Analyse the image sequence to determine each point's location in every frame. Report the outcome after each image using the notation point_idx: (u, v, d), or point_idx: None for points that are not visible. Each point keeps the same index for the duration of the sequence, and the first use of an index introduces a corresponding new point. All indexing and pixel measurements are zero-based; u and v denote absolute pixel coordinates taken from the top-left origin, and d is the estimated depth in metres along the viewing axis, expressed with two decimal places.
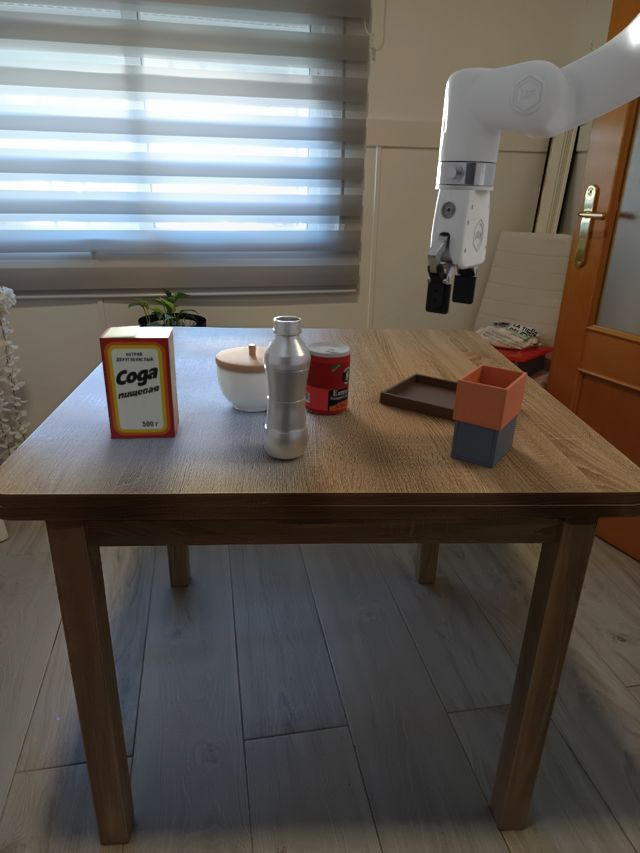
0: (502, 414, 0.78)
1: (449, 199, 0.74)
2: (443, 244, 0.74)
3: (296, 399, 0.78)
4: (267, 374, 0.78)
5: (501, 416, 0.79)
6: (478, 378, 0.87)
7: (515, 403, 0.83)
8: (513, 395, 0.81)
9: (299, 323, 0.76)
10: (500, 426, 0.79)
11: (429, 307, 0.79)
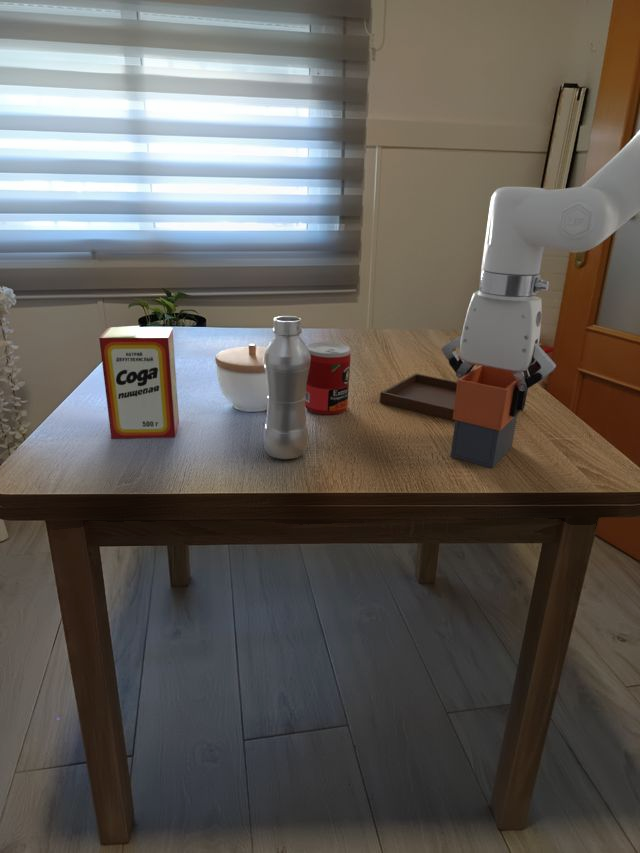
0: (502, 414, 0.78)
1: (538, 308, 0.76)
2: (544, 354, 0.78)
3: (296, 399, 0.78)
4: (267, 374, 0.78)
5: (501, 416, 0.79)
6: (478, 378, 0.87)
7: None
8: None
9: (299, 323, 0.76)
10: (500, 426, 0.79)
11: (515, 412, 0.81)
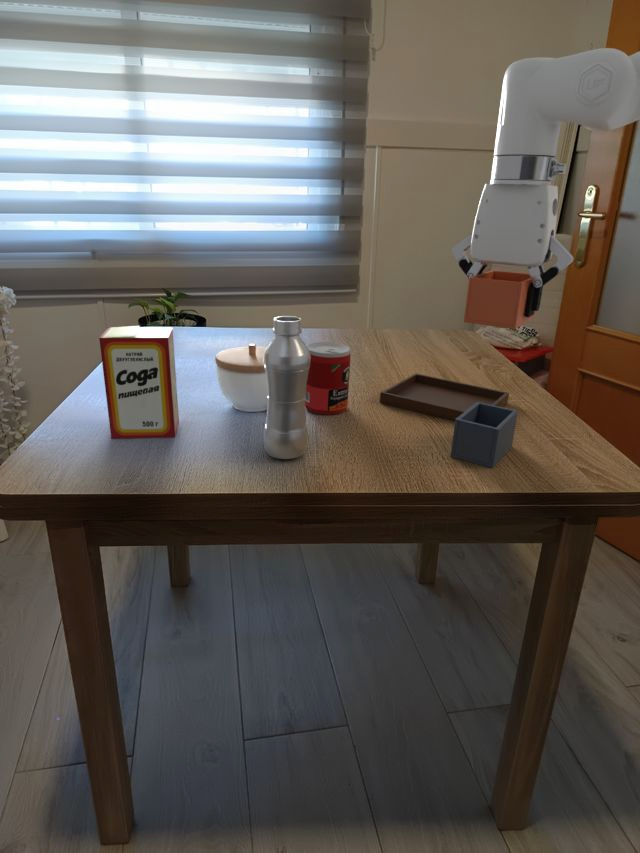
0: (517, 310, 0.74)
1: (555, 195, 0.72)
2: (560, 246, 0.74)
3: (296, 399, 0.78)
4: (267, 374, 0.78)
5: (516, 313, 0.74)
6: None
7: None
8: None
9: (299, 323, 0.76)
10: (515, 324, 0.75)
11: (530, 312, 0.77)
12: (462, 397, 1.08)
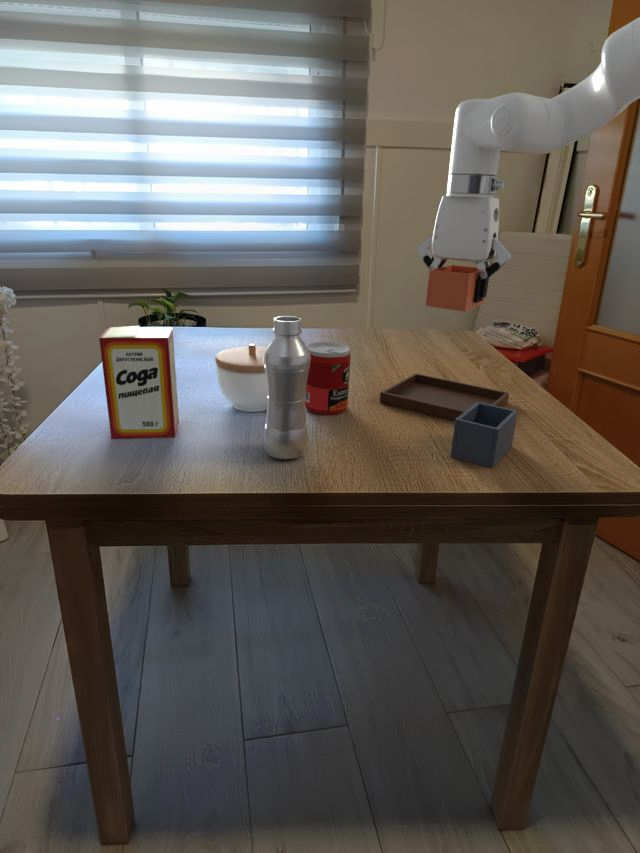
0: (466, 296, 0.93)
1: (496, 206, 0.91)
2: (501, 246, 0.93)
3: (296, 399, 0.78)
4: (267, 374, 0.78)
5: (465, 298, 0.94)
6: None
7: None
8: None
9: (299, 323, 0.76)
10: (464, 307, 0.94)
11: (478, 298, 0.96)
12: (462, 397, 1.08)
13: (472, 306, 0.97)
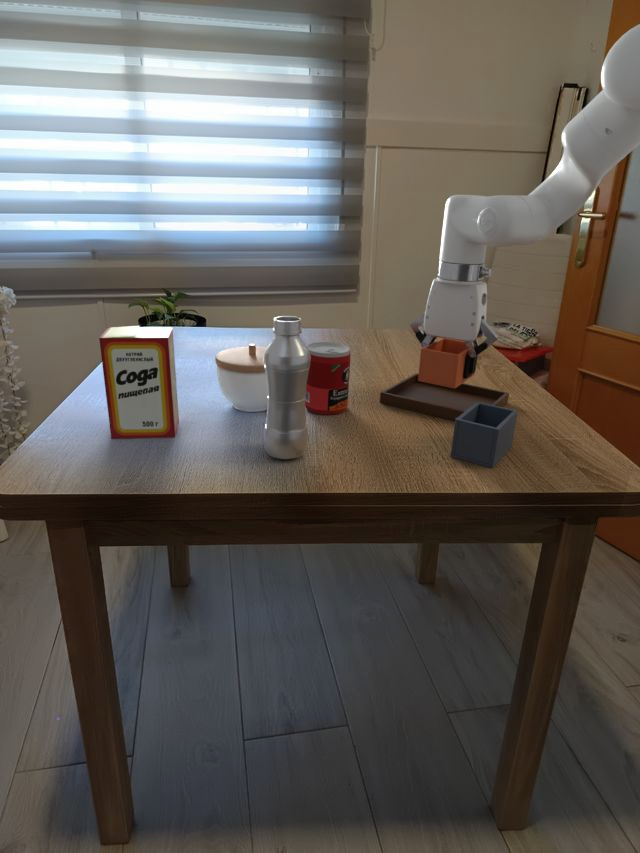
0: (455, 375, 0.99)
1: (484, 291, 0.96)
2: (489, 327, 0.99)
3: (296, 399, 0.78)
4: (267, 374, 0.78)
5: (455, 377, 0.99)
6: (440, 349, 1.08)
7: None
8: None
9: (299, 323, 0.76)
10: (454, 385, 0.99)
11: (467, 375, 1.02)
12: (462, 397, 1.08)
13: (462, 382, 1.02)
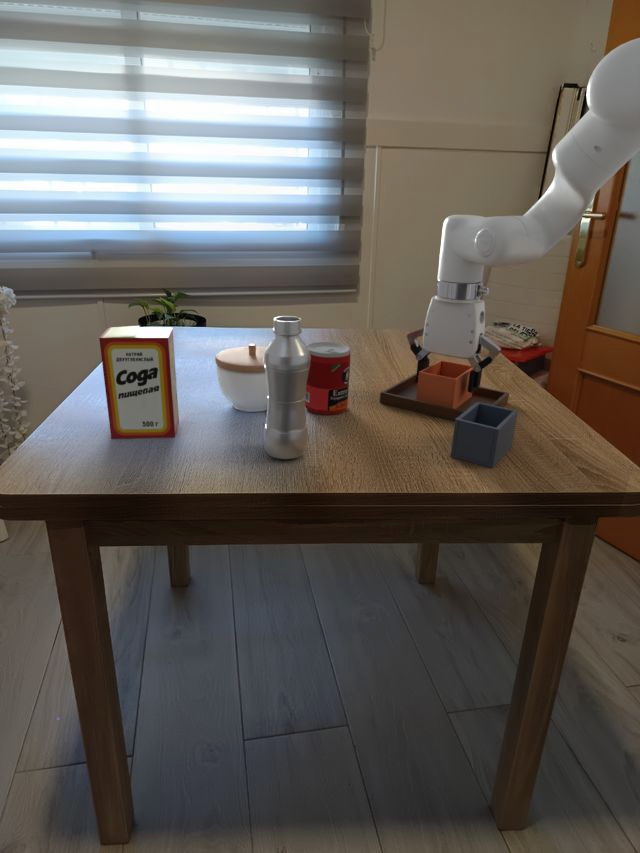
0: (453, 398, 1.00)
1: (481, 309, 0.98)
2: (489, 341, 0.99)
3: (296, 399, 0.78)
4: (267, 374, 0.78)
5: (452, 400, 1.00)
6: (438, 371, 1.09)
7: (465, 390, 1.05)
8: (462, 384, 1.03)
9: (299, 323, 0.76)
10: None
11: (472, 389, 1.02)
12: None
13: (459, 404, 1.04)
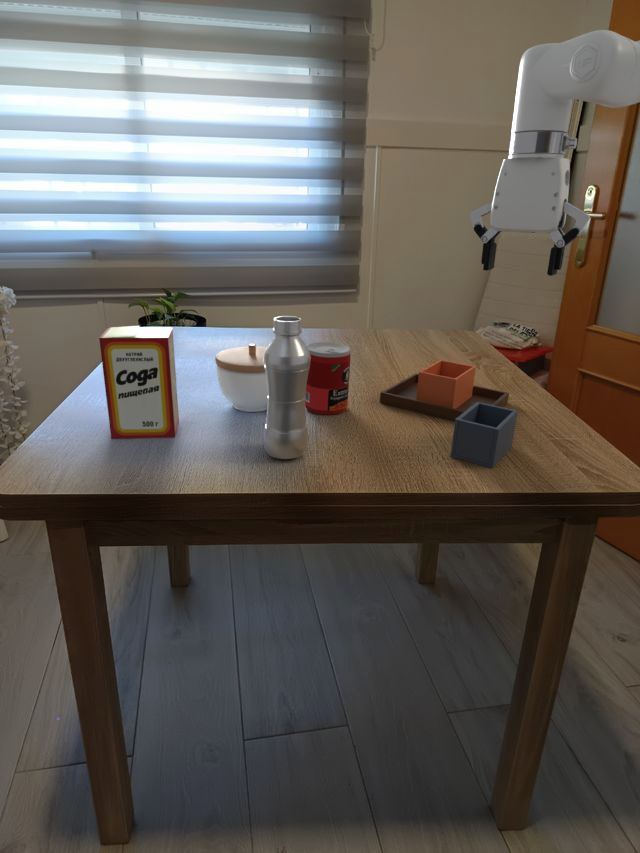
0: (453, 398, 1.00)
1: (567, 167, 0.80)
2: None
3: (296, 399, 0.78)
4: (267, 374, 0.78)
5: (452, 400, 1.00)
6: (438, 371, 1.09)
7: (465, 390, 1.05)
8: (462, 384, 1.03)
9: (299, 323, 0.76)
10: None
11: (553, 271, 0.84)
12: None
13: (459, 404, 1.04)
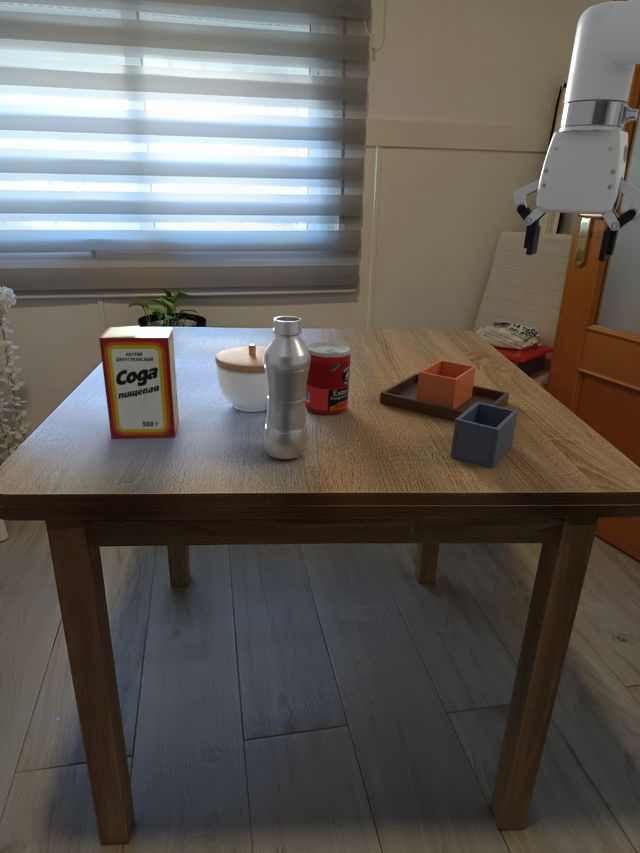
0: (453, 398, 1.00)
1: (626, 142, 0.73)
2: None
3: (296, 399, 0.78)
4: (267, 374, 0.78)
5: (452, 400, 1.00)
6: (438, 371, 1.09)
7: (465, 390, 1.05)
8: (462, 384, 1.03)
9: (299, 323, 0.76)
10: None
11: (604, 256, 0.77)
12: None
13: (459, 404, 1.04)
